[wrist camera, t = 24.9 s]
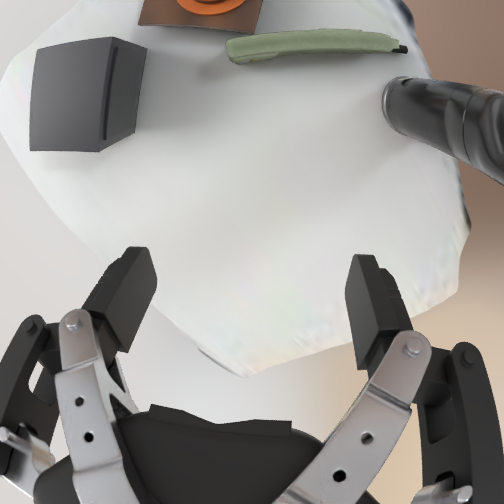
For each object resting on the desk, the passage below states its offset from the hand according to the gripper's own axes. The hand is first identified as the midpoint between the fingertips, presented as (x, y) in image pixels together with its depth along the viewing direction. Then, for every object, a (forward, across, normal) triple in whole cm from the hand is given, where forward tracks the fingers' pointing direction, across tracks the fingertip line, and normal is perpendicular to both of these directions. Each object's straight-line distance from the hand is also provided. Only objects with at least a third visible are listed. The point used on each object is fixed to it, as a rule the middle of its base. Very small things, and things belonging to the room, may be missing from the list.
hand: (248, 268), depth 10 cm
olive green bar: (+31, +7, +12) cm, 34 cm away
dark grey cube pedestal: (+26, -22, +8) cm, 35 cm away
